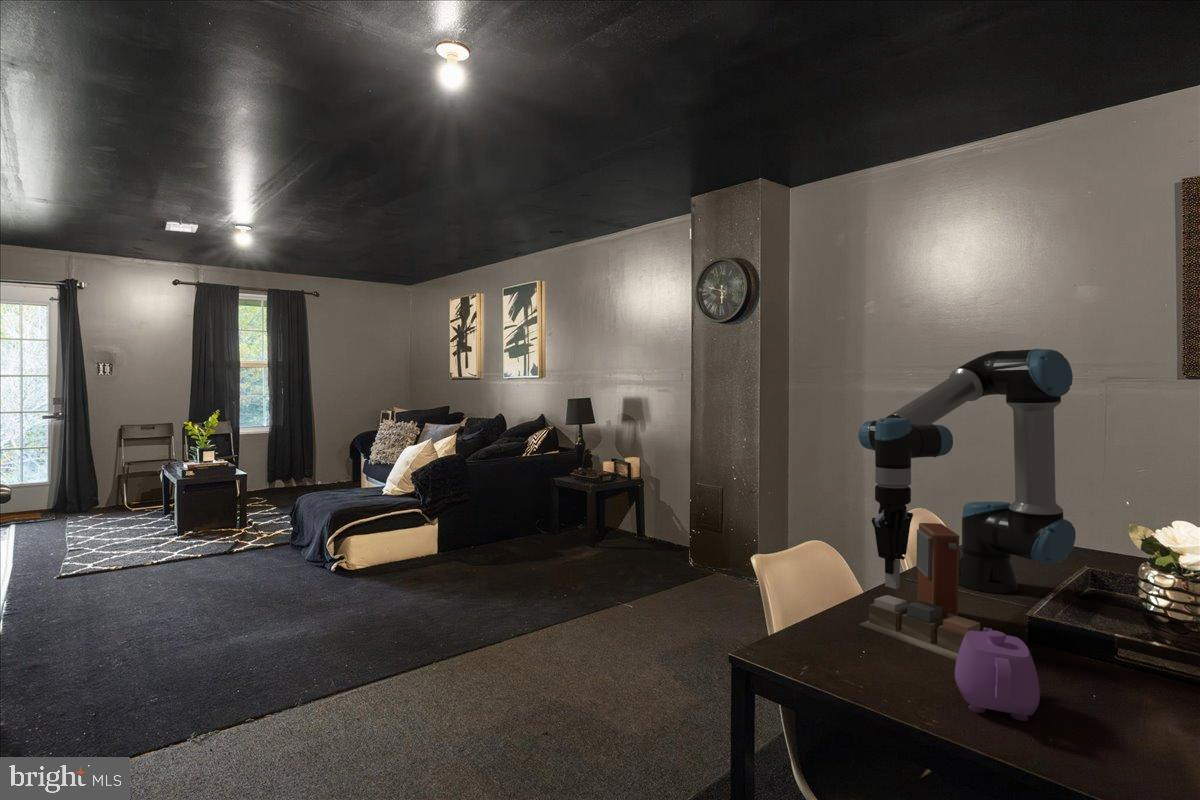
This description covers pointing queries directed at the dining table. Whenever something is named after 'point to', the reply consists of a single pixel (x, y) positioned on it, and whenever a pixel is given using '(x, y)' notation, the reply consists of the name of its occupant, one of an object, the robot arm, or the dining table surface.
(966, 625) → the terracotta key
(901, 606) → the ivory key
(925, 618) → the graphite key
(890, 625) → the keypad board
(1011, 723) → the dining table surface
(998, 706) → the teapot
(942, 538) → the terracotta and grey box
